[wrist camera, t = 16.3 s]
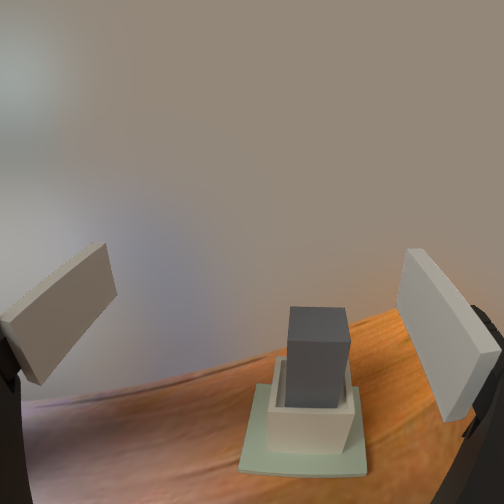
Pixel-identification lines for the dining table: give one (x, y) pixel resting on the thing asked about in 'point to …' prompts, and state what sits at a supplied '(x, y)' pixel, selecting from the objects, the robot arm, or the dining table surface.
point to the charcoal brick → (316, 356)
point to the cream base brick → (308, 419)
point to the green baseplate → (300, 465)
